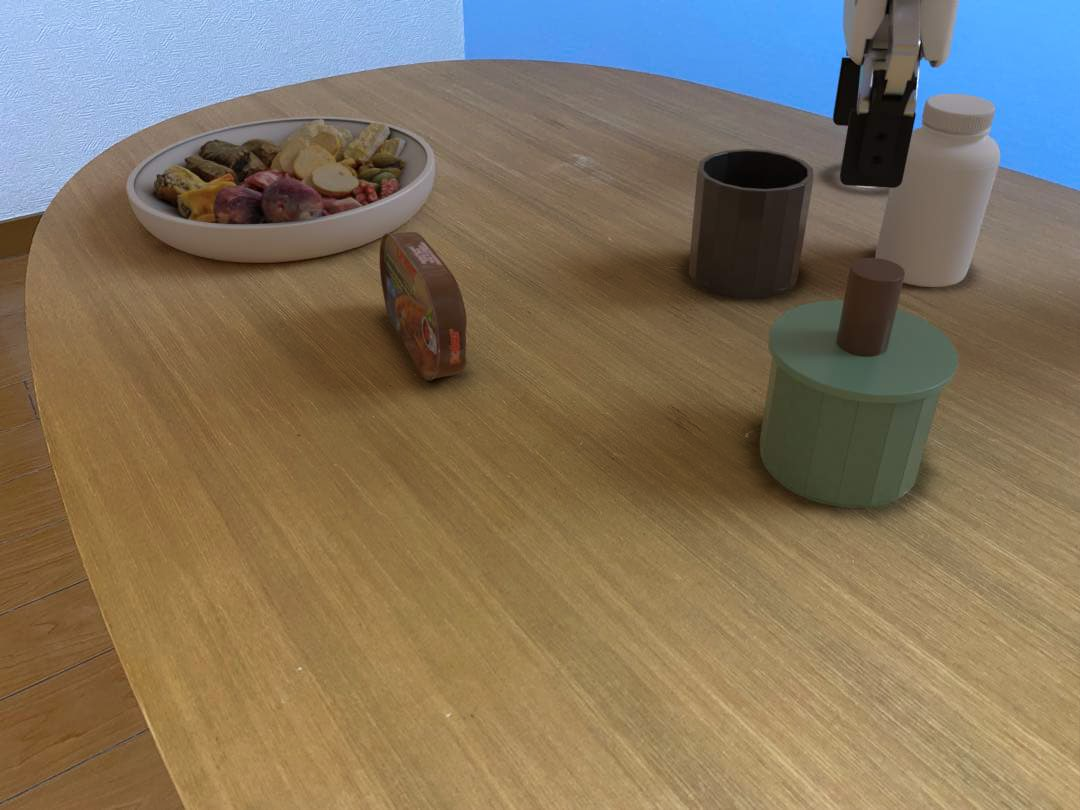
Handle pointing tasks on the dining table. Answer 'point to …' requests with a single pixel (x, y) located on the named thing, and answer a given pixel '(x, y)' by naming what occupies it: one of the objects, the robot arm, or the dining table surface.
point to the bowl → (282, 188)
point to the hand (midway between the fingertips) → (863, 152)
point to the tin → (423, 304)
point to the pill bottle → (942, 192)
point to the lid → (864, 342)
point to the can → (842, 443)
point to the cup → (749, 222)
